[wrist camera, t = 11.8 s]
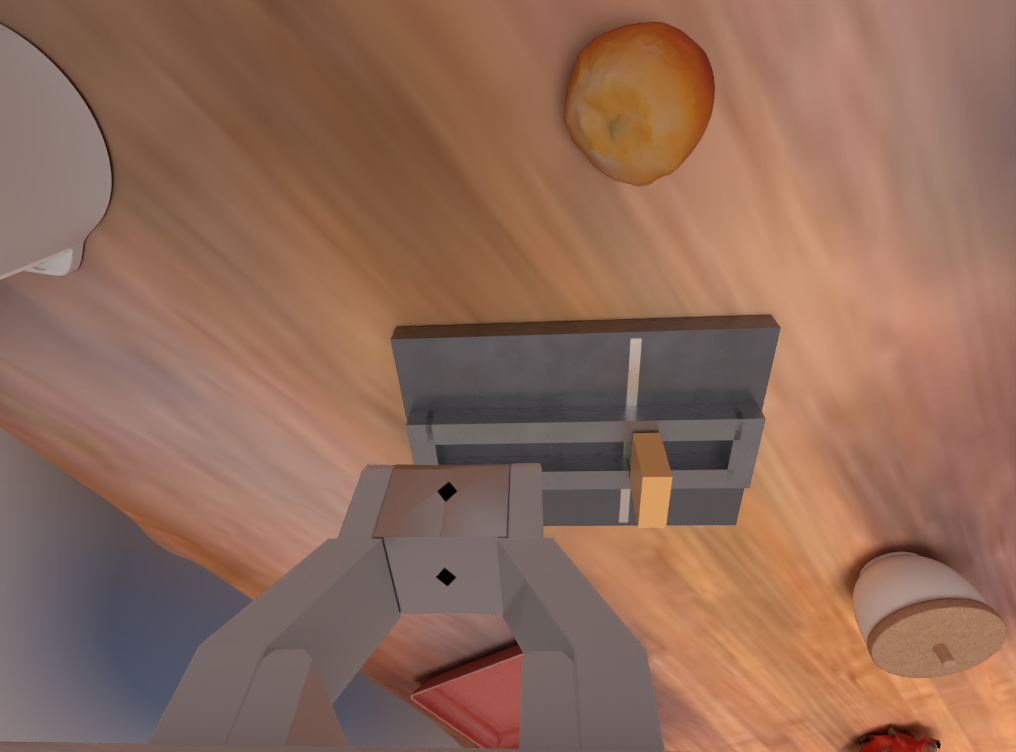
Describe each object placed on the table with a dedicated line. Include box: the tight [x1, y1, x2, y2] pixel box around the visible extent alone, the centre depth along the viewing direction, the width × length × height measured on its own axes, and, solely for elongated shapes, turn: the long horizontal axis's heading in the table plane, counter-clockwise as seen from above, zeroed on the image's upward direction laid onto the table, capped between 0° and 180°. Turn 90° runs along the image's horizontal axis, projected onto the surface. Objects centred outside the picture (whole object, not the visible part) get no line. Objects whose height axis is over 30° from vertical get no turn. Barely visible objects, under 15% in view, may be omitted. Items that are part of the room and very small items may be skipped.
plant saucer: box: [411, 644, 525, 749], centre depth 70 cm, size 18×18×3 cm
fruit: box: [564, 22, 715, 186], centre depth 31 cm, size 8×8×8 cm
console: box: [391, 315, 781, 526], centre depth 46 cm, size 28×20×4 cm
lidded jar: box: [852, 551, 1007, 678], centre depth 51 cm, size 11×11×9 cm
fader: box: [627, 433, 672, 528], centre depth 42 cm, size 2×5×7 cm, turn 4°
